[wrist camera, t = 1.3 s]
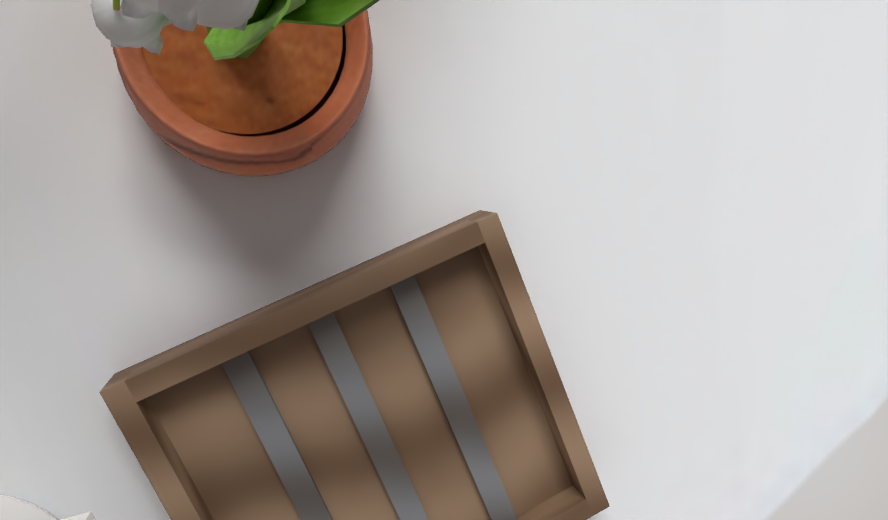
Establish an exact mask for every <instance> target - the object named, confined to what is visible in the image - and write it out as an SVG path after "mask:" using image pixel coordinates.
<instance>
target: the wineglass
mask: <svg viewBox="0 0 888 520" xmlns="http://www.w3.org/2000/svg"><path fill="white" fill-rule="evenodd" d="M0 520H57V519H56V518H55V517H54V516H52V515H51V514H50V513H48V512H47V511H45V510H43V509H42V508H40V507H38V506H36V505H34V504H32V503H30V502H27V501H24V500H22V499H19V498H15V497H11V496H7V495H1V494H0Z"/></svg>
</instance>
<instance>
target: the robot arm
mask: <svg viewBox="0 0 888 520" xmlns="http://www.w3.org/2000/svg"><path fill="white" fill-rule="evenodd" d="M60 520H96V519H95V517H94V515H93V513H92V512H91V511H89V512H85V513H82V514H78V515H75V516H71V517H67V518H64V519H60Z"/></svg>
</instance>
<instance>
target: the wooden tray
mask: <svg viewBox="0 0 888 520" xmlns="http://www.w3.org/2000/svg"><path fill="white" fill-rule="evenodd" d="M100 394H101V396H102V397H103V399H104V401H105V403H106V405H107V406H108V408H109V410H110V412H111V413H112V415H113V417H114V419H115V421H116V422H117V424H118V426H119V428H120V429H121V431H122V433H123V435H124V436H125V438H126V440H127V442H128V444H129V445H130V447H131V449H132V451H133V452H134V454H135V456H136V458H137V459H138V461H139V463H140V465H141V467H142V468H143V470H144V472H145V474H146V475H147V477H148V479H149V481H150V483H151V484H152V486H153V488H154V490H155V491H156V493H157V495H158V497H159V498H160V500H161V502H162V504H163V506H164V507H165V509H166V511H167V513H168V514H169V516H170V518H171V520H586V519H588V518H590V517H591V516H593V515H595V514H597V513H599V512H600V511H602V510H604V509H606V508H607V507H609V503H608V501H607V498H606V496H605V493H604V490H603V488H602V485H601V482H600V480H599V477H598V475H597V472H596V469H595V467H594V464H593V462H592V459H591V456H590V454H589V451H588V449H587V446H586V443H585V441H584V438H583V436H582V433H581V430H580V428H579V425H578V423H577V420H576V417H575V415H574V412H573V410H572V407H571V404H570V402H569V399H568V397H567V394H566V391H565V389H564V386H563V384H562V381H561V378H560V376H559V373H558V371H557V368H556V365H555V363H554V360H553V358H552V355H551V352H550V350H549V347H548V345H547V342H546V339H545V337H544V334H543V332H542V329H541V326H540V324H539V321H538V319H537V316H536V313H535V311H534V308H533V306H532V303H531V300H530V298H529V295H528V293H527V290H526V287H525V285H524V282H523V280H522V277H521V274H520V272H519V269H518V267H517V264H516V261H515V259H514V256H513V254H512V251H511V248H510V246H509V243H508V241H507V238H506V235H505V233H504V230H503V228H502V225H501V222H500V220H499V217H498V215H497V213H493V212H487V211H481V210H480V211H477V212H475V213H473V214H471V215H469V216H466V217H464V218H462V219H460V220H457V221H455V222H453V223H451V224H448V225H446V226H444V227H442V228H439V229H437V230H435V231H433V232H431V233H428V234H426V235H424V236H422V237H419V238H417V239H415V240H413V241H410V242H408V243H406V244H404V245H401V246H399V247H397V248H395V249H393V250H390V251H388V252H386V253H384V254H381V255H379V256H377V257H375V258H372V259H370V260H368V261H366V262H363V263H361V264H359V265H357V266H355V267H352V268H350V269H348V270H346V271H343V272H341V273H339V274H337V275H334V276H332V277H330V278H328V279H326V280H323V281H321V282H319V283H317V284H314V285H312V286H310V287H308V288H305V289H303V290H301V291H299V292H296V293H294V294H292V295H290V296H288V297H285V298H283V299H281V300H279V301H276V302H274V303H272V304H270V305H267V306H265V307H263V308H261V309H258V310H256V311H254V312H252V313H250V314H247V315H245V316H243V317H241V318H238V319H236V320H234V321H232V322H229V323H227V324H225V325H223V326H220V327H218V328H216V329H214V330H212V331H209V332H207V333H205V334H203V335H200V336H198V337H196V338H194V339H191V340H189V341H187V342H185V343H183V344H180V345H178V346H176V347H174V348H171V349H169V350H167V351H165V352H162V353H160V354H158V355H156V356H153V357H151V358H149V359H147V360H145V361H142V362H140V363H138V364H136V365H133V366H131V367H129V368H127V369H124V370H122V371H120V372H118V373H115V374H114V375H113V377H112V378H111V379H110V380H109V381H108V383H107V384H106V385H105V386H104V388H103V389H102V390H101V391H100Z"/></svg>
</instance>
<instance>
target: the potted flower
mask: <svg viewBox="0 0 888 520" xmlns="http://www.w3.org/2000/svg"><path fill="white" fill-rule="evenodd" d="M378 1H379V0H92V2H91V8H92V12H93V16H94V19H95V22H96V26H97V27H98V29H99V30H100V31H101V32H102V33H103V35H104V36H105V37H106V38H107V39H109V40H110V41H111V47H113V51H114V55H115V58H116V61H117V66H118V70H119V72H120V75H121V78H122V80H123V83H124V86H125V88H126V90H127V92H128V94H129V96H130V98H131V100H132V101H133V103H134V105H135V107H136V108H137V110H138V112H139V114H140V115H141V116H142V117H143V119H144V120H145V121H146V122H147V124H148V125H149V126H150V128H151V129H152V130H153V131H154V132H155V133H156V134H157V135H158V136H159V137H160V138H162V139H163V140H164V141H165V142H166V143H167V144H168V145H169V146H171V147H172V148H174V149H175V150H176V151H178V152H179V153H181V154H182V155H184V156H185V157H187V158H189V159H191V160H193V161H195V162H197V163H199V164H201V165H203V166H205V167H208V168H211V169H214V170H217V171H220V172H224V173H230V174H236V175H242V176H266V175H273V174H281V173H284V172H288V171H291V170H295V169H298V168H301V167H303V166H305V165H307V164H309V163H311V162H313V161H315V160H317V159H318V158H320V157H321V156H323V155H324V154H326V153H327V152H328V151H330V150H331V149H332V148H333V147H334V146H335V145H336V144H337V143H338V142H339V141H340V140H341V139H342V138H343V137H344V136H345V135H346V134H347V132H348V131H349V130H350V128H351V127H352V126H353V124H354V123H355V121H356V119H357V117H358V115H359V113H360V112H361V110H362V108H363V106H364V103H365V100H366V97H367V94H368V91H369V86H370V80H371V74H372V39H371V32H370V25H369V18H368V12H367V9H368V8H369V7H371V6H372V5H373V4H375V3H376V2H378Z"/></svg>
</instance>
